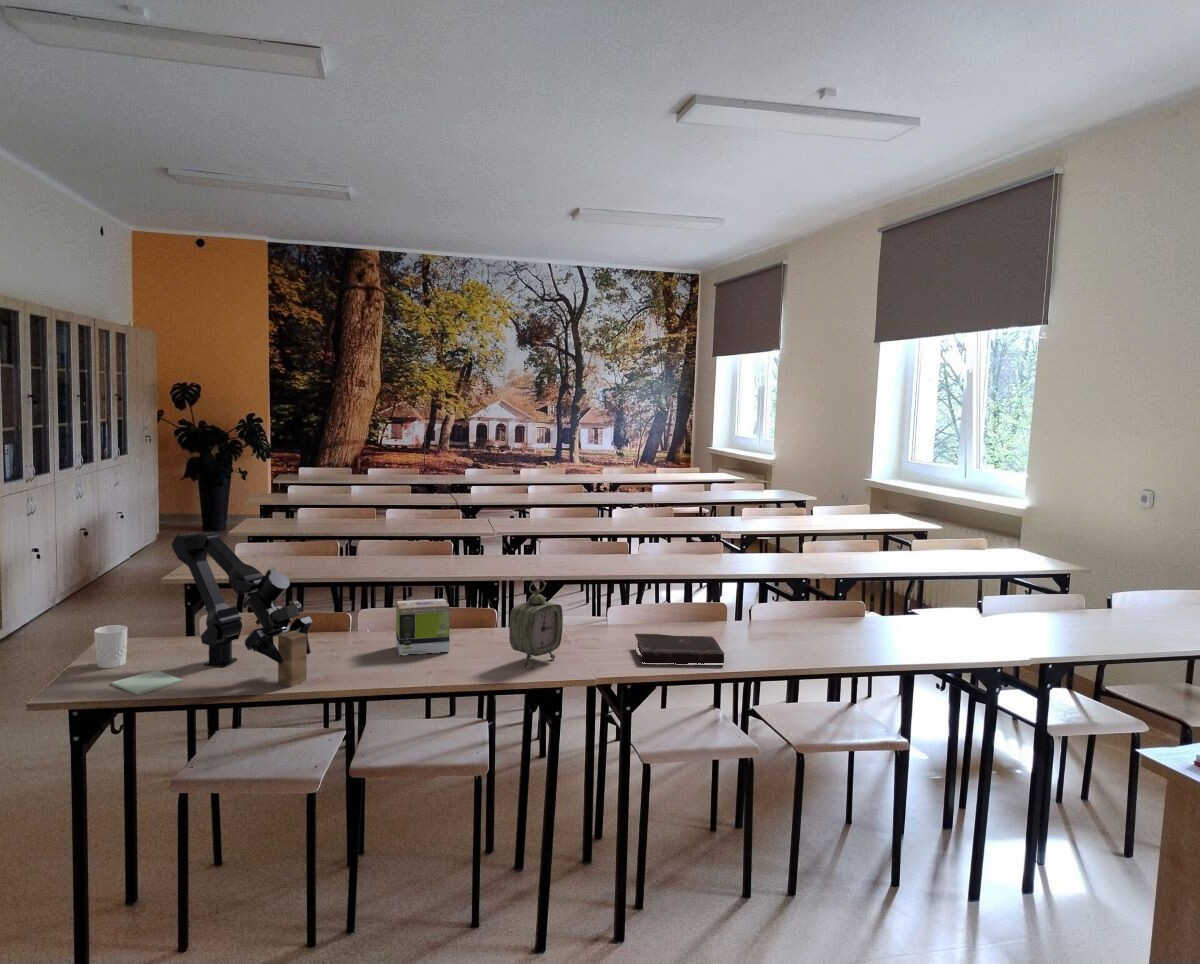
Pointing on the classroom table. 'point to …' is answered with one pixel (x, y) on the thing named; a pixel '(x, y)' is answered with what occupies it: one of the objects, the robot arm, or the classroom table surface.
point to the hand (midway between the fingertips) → (295, 658)
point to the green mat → (146, 682)
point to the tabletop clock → (536, 626)
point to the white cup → (111, 646)
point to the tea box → (422, 626)
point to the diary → (679, 649)
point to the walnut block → (292, 658)
